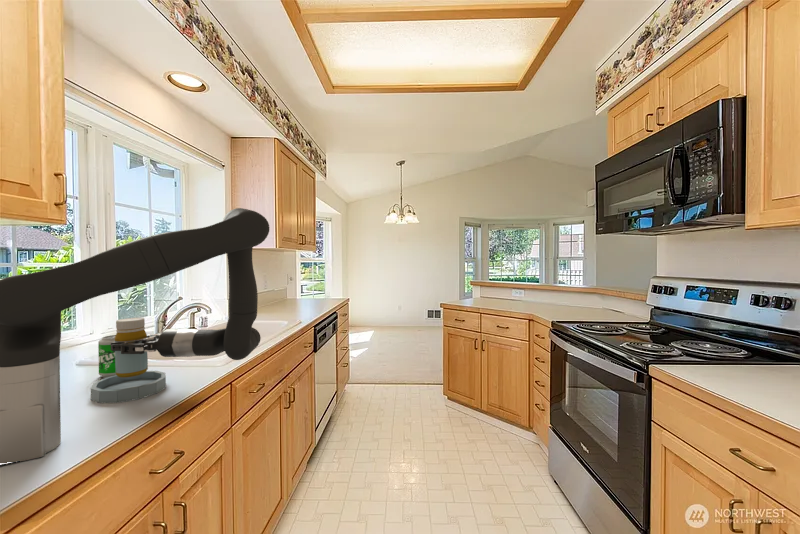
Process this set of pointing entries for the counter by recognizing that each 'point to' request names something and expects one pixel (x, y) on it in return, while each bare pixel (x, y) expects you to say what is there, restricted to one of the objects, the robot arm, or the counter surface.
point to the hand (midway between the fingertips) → (123, 342)
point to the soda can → (106, 357)
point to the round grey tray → (128, 387)
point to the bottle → (130, 362)
